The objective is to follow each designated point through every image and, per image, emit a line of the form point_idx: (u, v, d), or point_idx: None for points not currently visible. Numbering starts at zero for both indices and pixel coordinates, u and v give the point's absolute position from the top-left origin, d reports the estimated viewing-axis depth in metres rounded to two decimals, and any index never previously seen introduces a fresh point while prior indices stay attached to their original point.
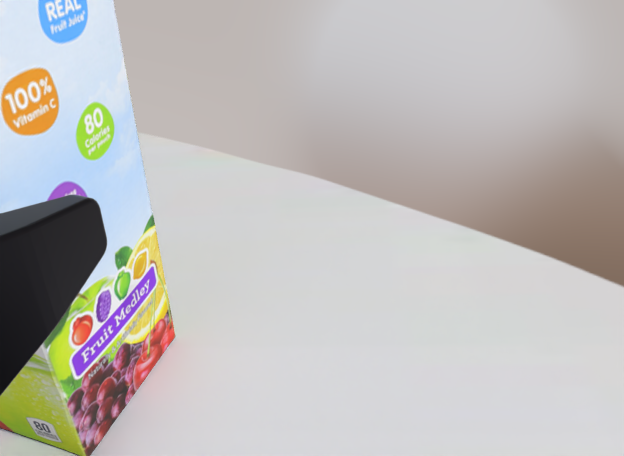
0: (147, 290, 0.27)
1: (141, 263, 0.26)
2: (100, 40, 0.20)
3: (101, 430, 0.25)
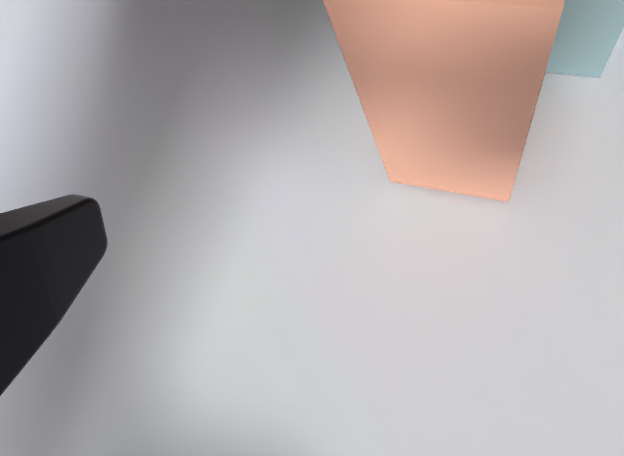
0: None
1: None
2: None
3: None
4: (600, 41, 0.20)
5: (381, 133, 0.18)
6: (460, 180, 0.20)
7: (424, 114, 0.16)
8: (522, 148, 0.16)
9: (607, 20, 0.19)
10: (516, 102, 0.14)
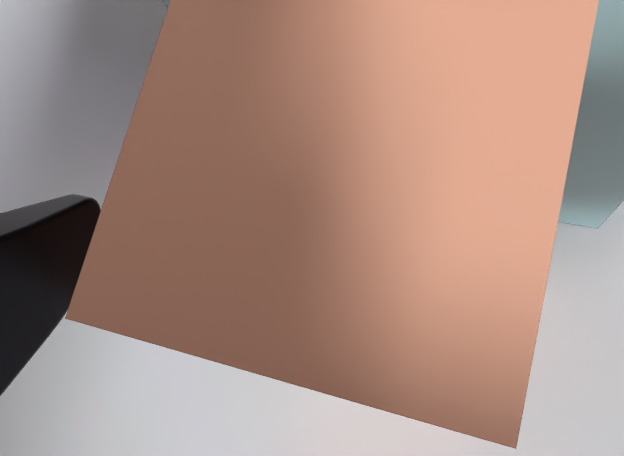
0: None
1: None
2: None
3: None
4: (599, 201, 0.14)
5: None
6: None
7: None
8: None
9: (608, 185, 0.13)
10: None
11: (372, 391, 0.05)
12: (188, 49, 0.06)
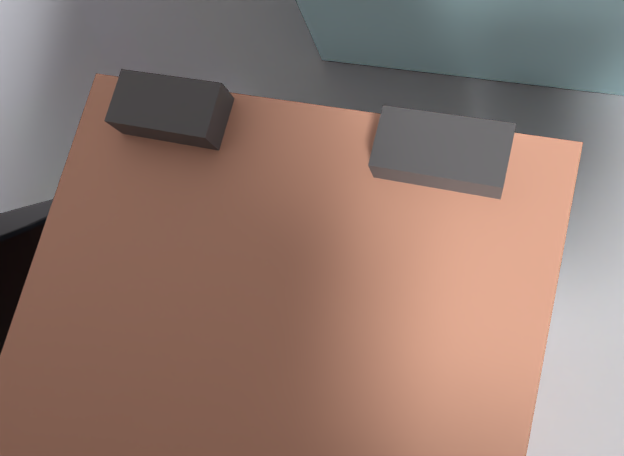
0: None
1: None
2: None
3: None
4: None
5: None
6: None
7: None
8: None
9: None
10: None
11: None
12: (67, 275, 0.05)
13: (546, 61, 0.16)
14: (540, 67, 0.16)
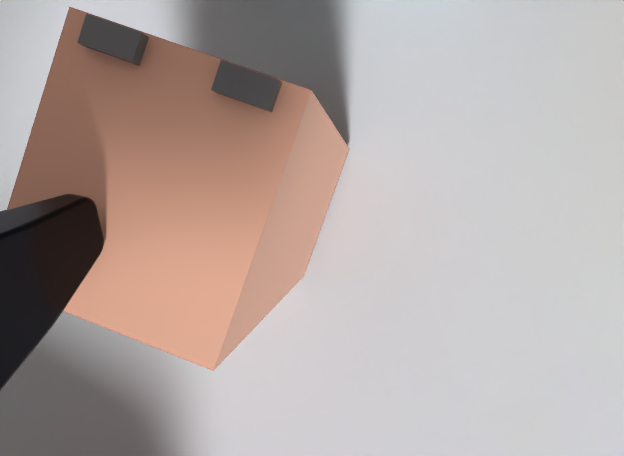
0: None
1: None
2: None
3: None
4: None
5: None
6: None
7: None
8: (278, 301, 0.17)
9: None
10: None
11: (151, 338, 0.10)
12: (57, 122, 0.10)
13: None
14: None
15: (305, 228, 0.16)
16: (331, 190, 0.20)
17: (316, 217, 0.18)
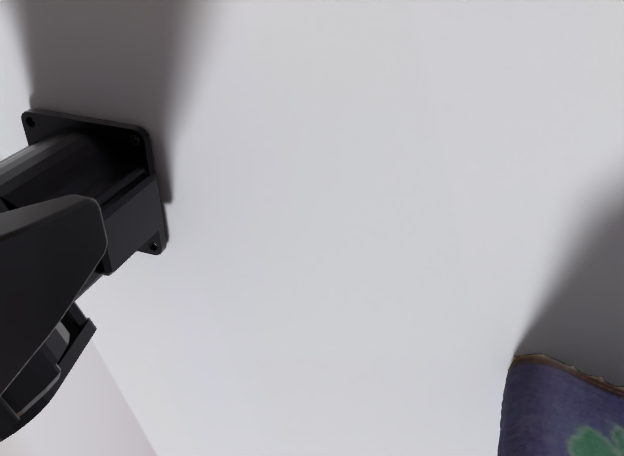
0: None
1: None
2: None
3: None
4: None
5: None
6: None
7: None
8: None
9: None
10: None
11: None
12: None
13: None
14: None
15: None
16: None
17: None
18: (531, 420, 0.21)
